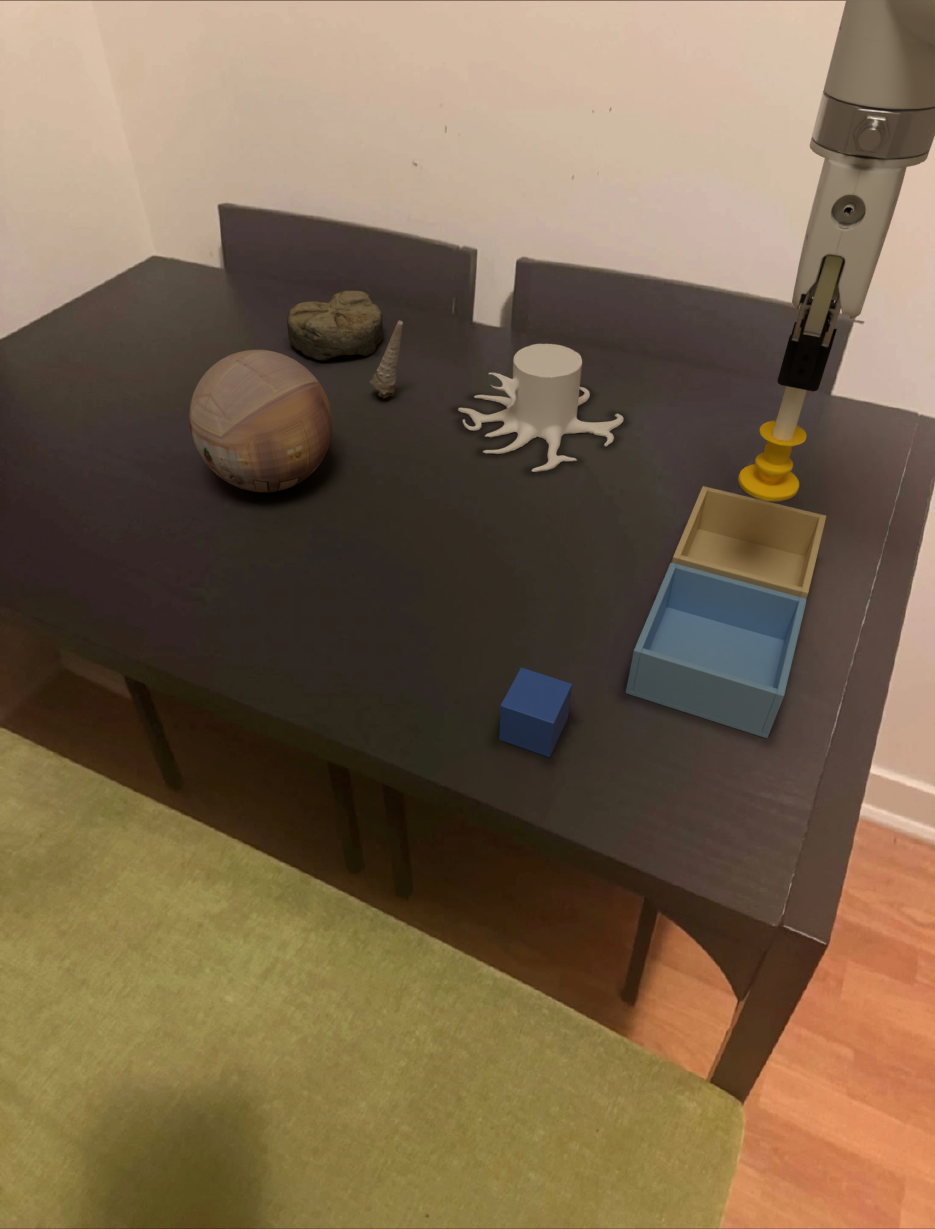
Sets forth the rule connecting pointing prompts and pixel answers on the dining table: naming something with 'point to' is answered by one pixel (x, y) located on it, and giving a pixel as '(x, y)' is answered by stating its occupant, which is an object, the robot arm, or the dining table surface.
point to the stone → (336, 326)
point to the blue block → (535, 711)
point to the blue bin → (717, 649)
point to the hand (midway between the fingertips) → (799, 378)
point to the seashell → (388, 365)
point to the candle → (777, 453)
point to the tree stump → (542, 402)
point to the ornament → (260, 420)
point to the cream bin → (752, 541)
